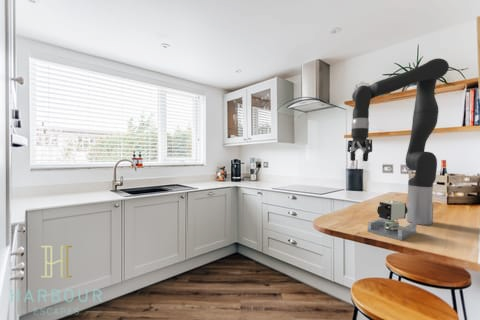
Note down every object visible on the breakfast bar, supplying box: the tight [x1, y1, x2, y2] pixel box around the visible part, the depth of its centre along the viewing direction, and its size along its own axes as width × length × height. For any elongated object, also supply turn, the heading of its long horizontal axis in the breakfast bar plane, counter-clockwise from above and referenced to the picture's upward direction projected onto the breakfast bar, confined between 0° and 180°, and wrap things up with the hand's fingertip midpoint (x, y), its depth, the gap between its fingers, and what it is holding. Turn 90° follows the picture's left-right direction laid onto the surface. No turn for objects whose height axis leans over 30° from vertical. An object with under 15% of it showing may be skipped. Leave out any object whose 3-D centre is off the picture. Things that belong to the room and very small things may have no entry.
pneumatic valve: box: [376, 199, 408, 231], centre depth 96 cm, size 6×12×12 cm, turn 111°
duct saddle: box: [367, 217, 418, 241], centre depth 96 cm, size 16×12×4 cm
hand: (358, 160), depth 117 cm, fingers open, 8 cm apart
